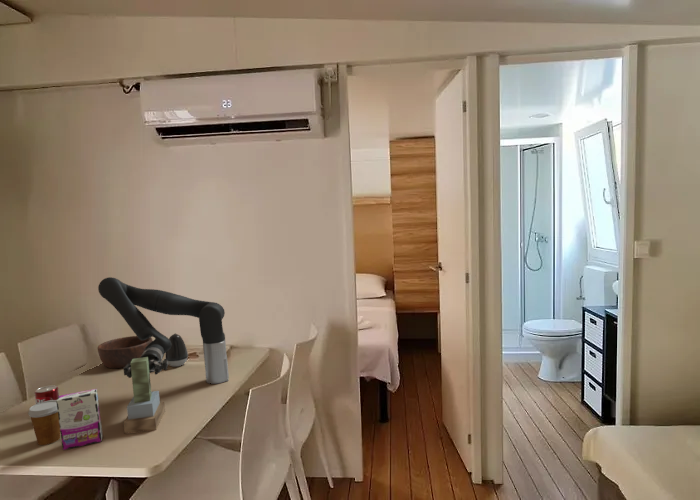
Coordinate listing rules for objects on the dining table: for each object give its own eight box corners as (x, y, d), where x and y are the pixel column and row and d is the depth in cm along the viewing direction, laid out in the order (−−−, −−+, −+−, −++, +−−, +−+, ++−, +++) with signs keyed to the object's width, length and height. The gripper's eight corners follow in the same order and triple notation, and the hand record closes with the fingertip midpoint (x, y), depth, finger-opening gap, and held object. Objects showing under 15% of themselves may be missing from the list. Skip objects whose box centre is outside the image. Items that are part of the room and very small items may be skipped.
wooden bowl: (164, 357, 245) (162, 338, 244) (118, 373, 224) (116, 352, 223) (135, 352, 258) (133, 333, 257) (89, 366, 237) (86, 346, 236)
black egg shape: (188, 360, 238) (186, 330, 236) (188, 366, 228) (185, 335, 226) (166, 363, 235) (163, 333, 233) (165, 370, 225) (162, 338, 223)
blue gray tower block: (159, 402, 174) (158, 390, 174) (153, 416, 163) (152, 403, 162) (136, 405, 173) (135, 393, 172) (128, 419, 161) (126, 406, 161)
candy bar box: (103, 435, 159) (97, 387, 158) (101, 442, 155) (96, 392, 153) (64, 444, 155) (58, 394, 154) (62, 450, 150) (55, 400, 149)
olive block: (151, 395, 170) (147, 356, 168) (150, 400, 165) (146, 360, 164) (136, 397, 168) (132, 358, 167) (134, 403, 163) (130, 362, 162)
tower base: (165, 412, 176) (164, 401, 176) (156, 431, 161) (155, 418, 161) (136, 416, 174) (135, 404, 174) (124, 435, 160) (123, 422, 159)
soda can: (50, 425, 170) (46, 392, 169) (33, 424, 172) (29, 392, 170) (66, 416, 177) (62, 385, 176) (49, 415, 179) (46, 384, 178)
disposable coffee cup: (35, 438, 161) (30, 403, 160) (67, 431, 164) (63, 397, 163) (28, 450, 152) (24, 414, 151) (63, 443, 156) (59, 407, 155)
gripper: (129, 352, 179) (119, 365, 163) (170, 347, 182) (163, 360, 166) (131, 371, 179) (121, 386, 164) (171, 366, 183) (165, 381, 167)
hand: (142, 373), depth 165 cm, fingers open, 8 cm apart
